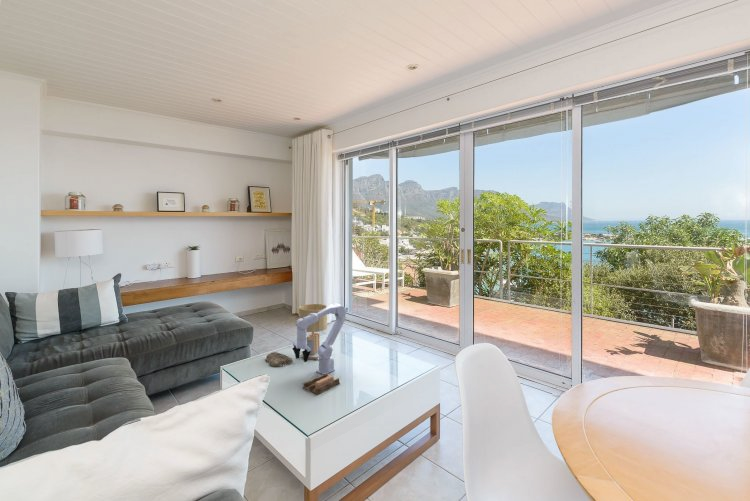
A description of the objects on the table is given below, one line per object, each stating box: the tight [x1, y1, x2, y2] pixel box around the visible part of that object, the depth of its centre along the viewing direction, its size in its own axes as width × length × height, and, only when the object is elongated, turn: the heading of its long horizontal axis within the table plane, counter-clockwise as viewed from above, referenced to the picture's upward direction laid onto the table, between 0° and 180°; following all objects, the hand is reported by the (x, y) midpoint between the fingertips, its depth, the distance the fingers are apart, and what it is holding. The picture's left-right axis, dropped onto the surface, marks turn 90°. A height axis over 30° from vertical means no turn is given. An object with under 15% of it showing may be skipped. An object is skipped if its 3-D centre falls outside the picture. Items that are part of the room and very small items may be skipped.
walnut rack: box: [302, 373, 341, 396], centre depth 203 cm, size 18×12×3 cm, turn 141°
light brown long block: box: [315, 374, 335, 389], centre depth 202 cm, size 12×2×4 cm, turn 141°
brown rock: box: [265, 351, 294, 367], centre depth 240 cm, size 14×5×20 cm
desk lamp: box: [298, 303, 328, 361], centre depth 249 cm, size 20×20×35 cm
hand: (301, 360), depth 215 cm, fingers open, 7 cm apart
